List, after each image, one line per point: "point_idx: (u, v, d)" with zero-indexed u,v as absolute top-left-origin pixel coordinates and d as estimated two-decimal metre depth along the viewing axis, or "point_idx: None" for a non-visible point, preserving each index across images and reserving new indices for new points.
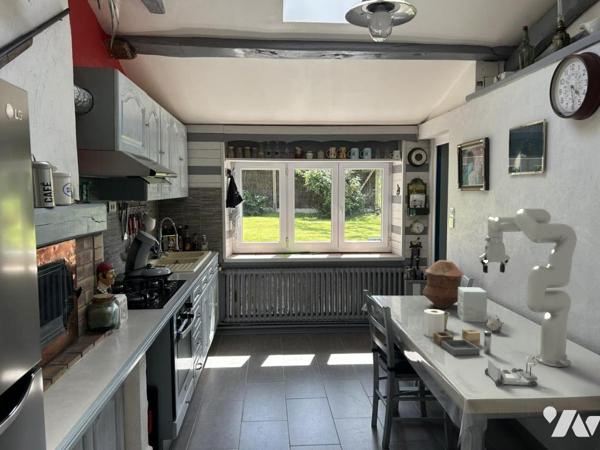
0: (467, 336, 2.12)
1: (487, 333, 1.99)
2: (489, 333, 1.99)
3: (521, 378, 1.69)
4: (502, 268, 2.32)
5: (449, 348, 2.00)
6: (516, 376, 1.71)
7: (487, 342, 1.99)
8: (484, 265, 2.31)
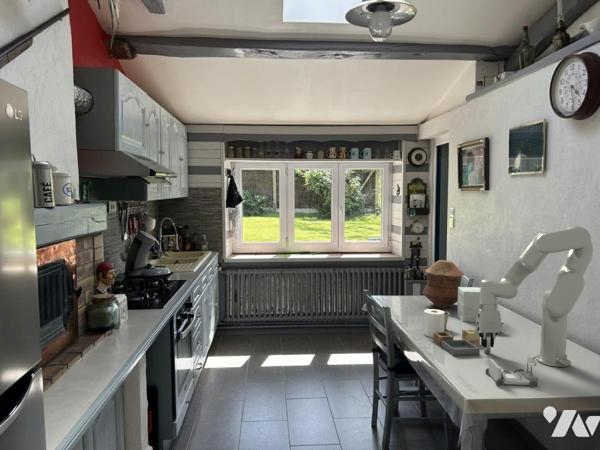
0: (467, 336, 2.12)
1: (487, 333, 1.99)
2: (489, 333, 1.99)
3: (522, 378, 1.69)
4: (491, 342, 2.00)
5: (449, 348, 2.00)
6: (517, 376, 1.71)
7: (487, 342, 1.99)
8: (482, 338, 1.99)
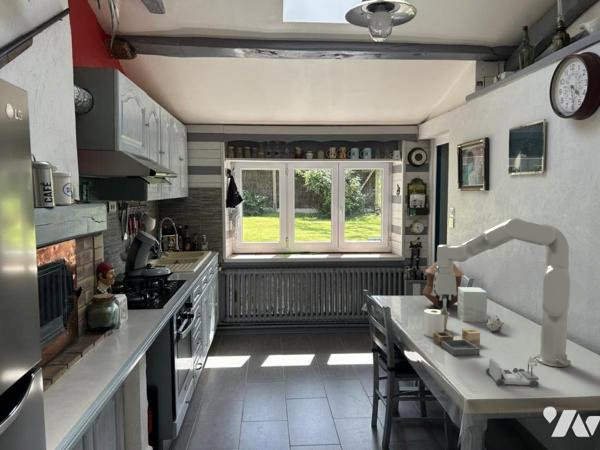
0: (467, 336, 2.12)
1: (443, 295, 2.11)
2: (445, 295, 2.10)
3: (522, 378, 1.69)
4: (447, 303, 2.12)
5: (449, 348, 2.00)
6: (517, 376, 1.71)
7: (444, 304, 2.11)
8: (439, 300, 2.11)
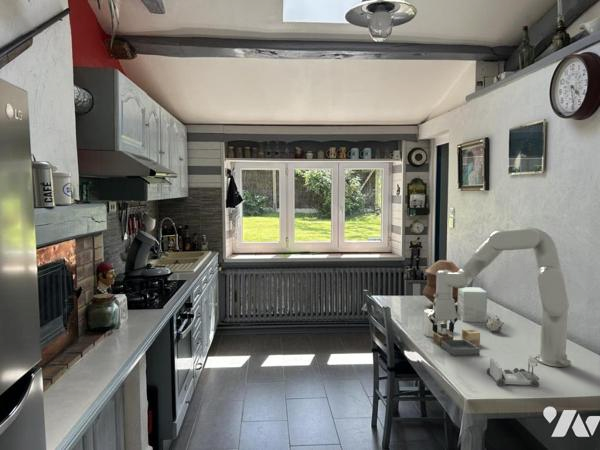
0: (467, 336, 2.12)
1: (443, 325, 2.11)
2: (445, 325, 2.11)
3: (523, 378, 1.69)
4: (451, 327, 2.13)
5: (449, 348, 2.00)
6: (518, 376, 1.71)
7: (443, 333, 2.12)
8: (433, 324, 2.11)
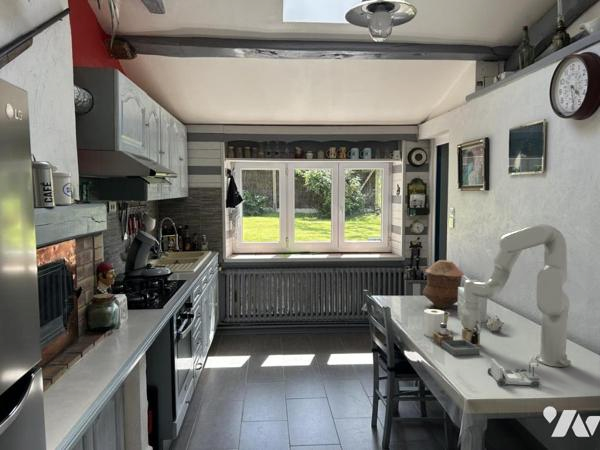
0: (467, 336, 2.12)
1: (443, 325, 2.11)
2: (444, 325, 2.11)
3: (524, 378, 1.69)
4: None
5: (449, 348, 2.00)
6: (519, 376, 1.71)
7: (443, 333, 2.12)
8: None
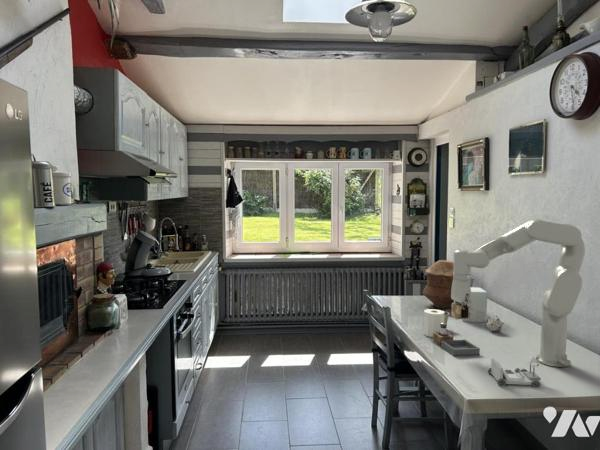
0: (456, 310, 2.00)
1: (443, 325, 2.11)
2: (444, 325, 2.11)
3: (524, 378, 1.69)
4: None
5: (449, 348, 2.00)
6: (519, 376, 1.71)
7: (443, 333, 2.12)
8: None
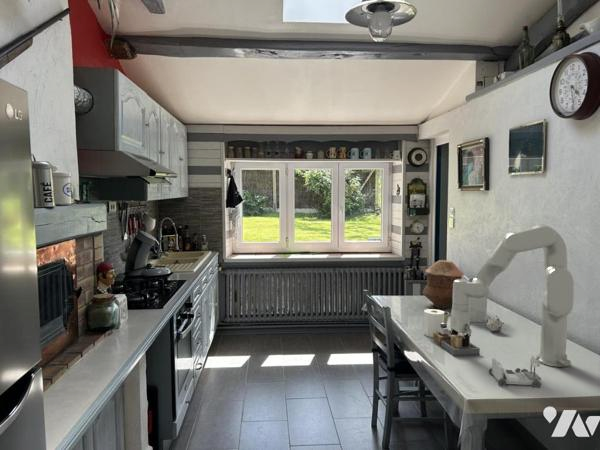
0: (456, 342, 2.01)
1: (443, 325, 2.12)
2: (445, 325, 2.11)
3: (525, 378, 1.69)
4: None
5: (449, 348, 2.00)
6: (520, 376, 1.71)
7: (443, 333, 2.12)
8: None
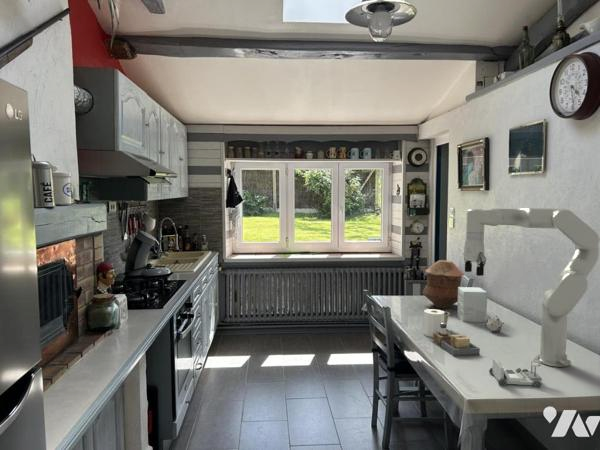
0: (456, 342, 2.01)
1: (442, 325, 2.12)
2: (444, 324, 2.11)
3: (525, 378, 1.69)
4: None
5: (449, 348, 2.00)
6: (520, 376, 1.71)
7: (443, 333, 2.12)
8: None
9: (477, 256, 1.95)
